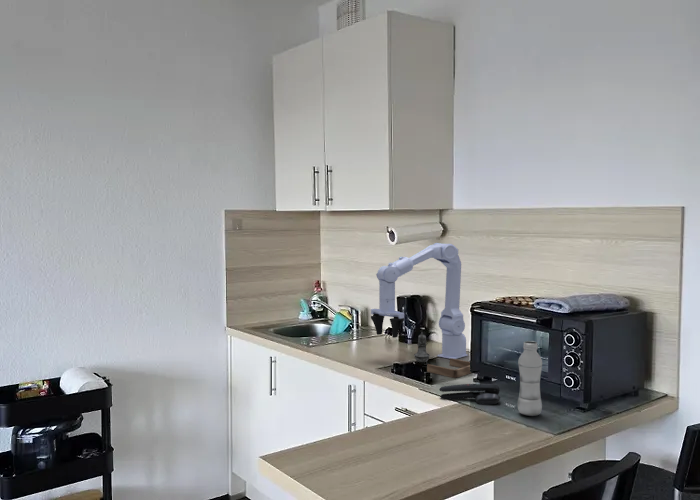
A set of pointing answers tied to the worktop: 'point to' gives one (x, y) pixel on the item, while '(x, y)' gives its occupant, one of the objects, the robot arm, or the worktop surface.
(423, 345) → the grey stone vase
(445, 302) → the robot arm
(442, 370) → the walnut corral
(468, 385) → the can opener
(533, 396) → the plastic bottle
